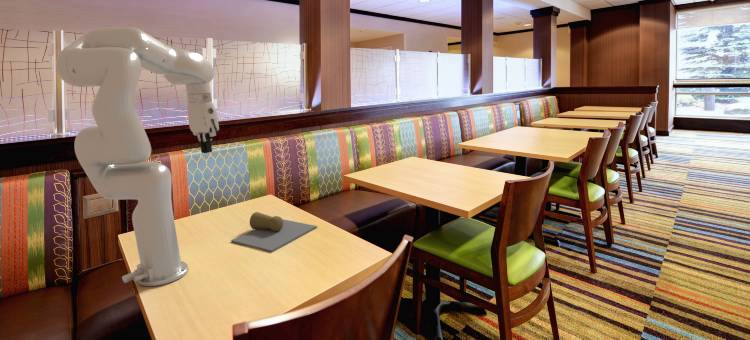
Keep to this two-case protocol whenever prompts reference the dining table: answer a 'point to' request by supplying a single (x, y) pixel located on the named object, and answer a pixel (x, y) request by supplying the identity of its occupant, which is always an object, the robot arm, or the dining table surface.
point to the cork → (266, 222)
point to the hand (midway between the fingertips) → (206, 152)
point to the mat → (274, 236)
